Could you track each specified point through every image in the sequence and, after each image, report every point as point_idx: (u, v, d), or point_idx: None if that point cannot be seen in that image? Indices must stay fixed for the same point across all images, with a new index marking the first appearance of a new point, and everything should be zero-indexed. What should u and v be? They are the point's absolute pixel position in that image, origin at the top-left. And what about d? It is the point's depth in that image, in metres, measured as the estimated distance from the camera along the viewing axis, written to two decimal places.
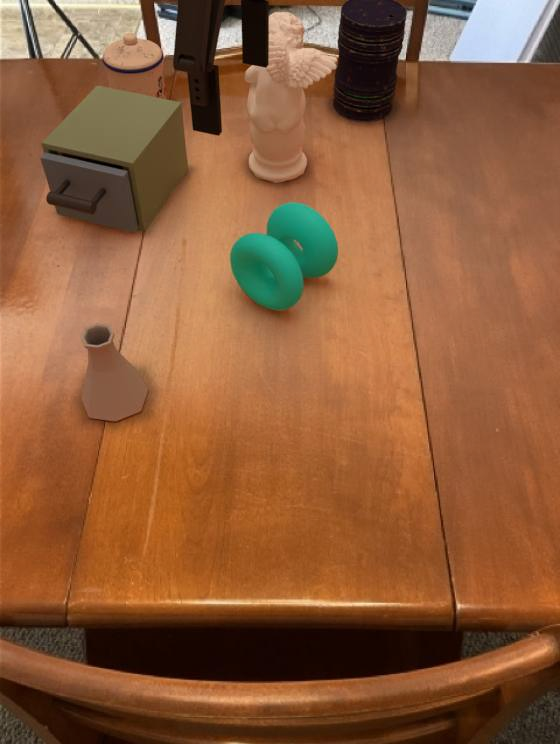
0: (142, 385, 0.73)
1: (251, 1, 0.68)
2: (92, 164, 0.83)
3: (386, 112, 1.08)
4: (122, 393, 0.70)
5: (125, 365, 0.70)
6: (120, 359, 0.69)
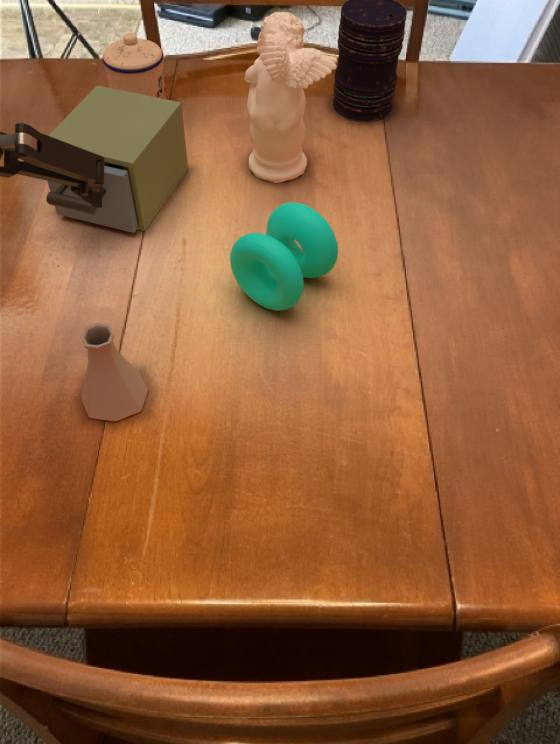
0: (142, 385, 0.73)
1: None
2: None
3: (386, 112, 1.08)
4: (122, 393, 0.70)
5: (125, 365, 0.70)
6: (120, 359, 0.69)
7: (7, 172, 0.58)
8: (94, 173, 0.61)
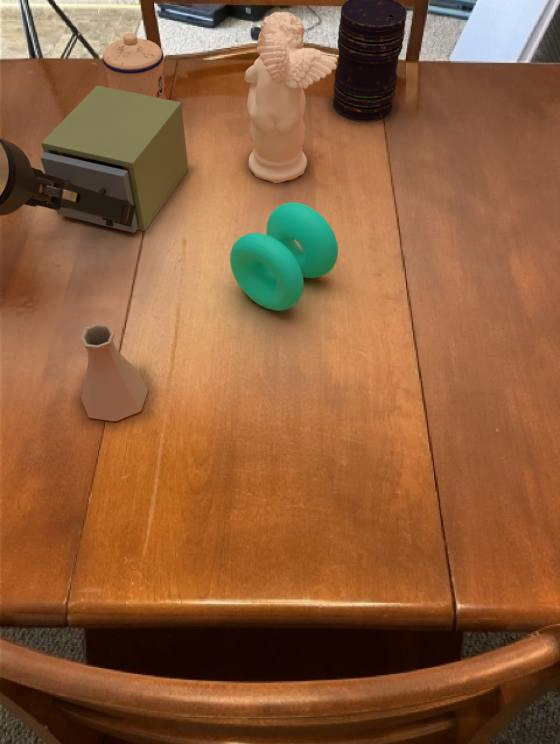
0: (142, 385, 0.73)
1: None
2: (92, 164, 0.83)
3: (386, 112, 1.08)
4: (122, 393, 0.70)
5: (125, 365, 0.70)
6: (120, 359, 0.69)
7: (52, 208, 0.74)
8: (119, 216, 0.77)
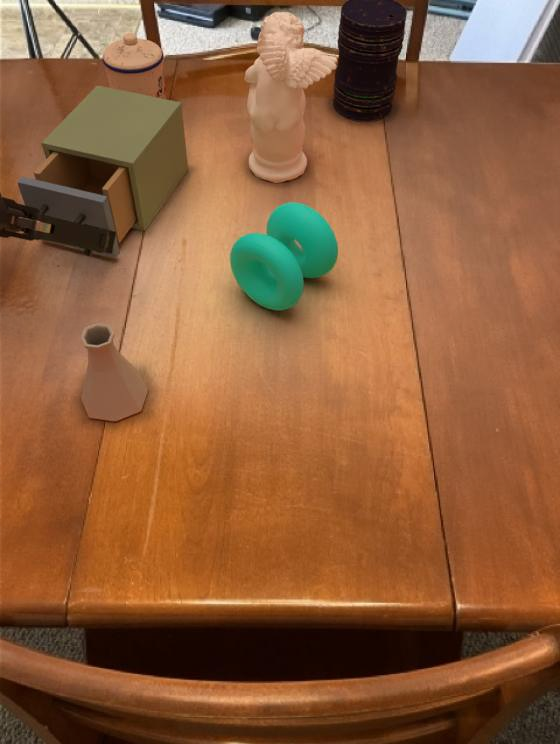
0: (142, 385, 0.73)
1: None
2: (71, 189, 0.80)
3: (386, 112, 1.08)
4: (122, 393, 0.70)
5: (125, 365, 0.70)
6: (120, 359, 0.69)
7: (25, 238, 0.70)
8: (97, 245, 0.74)
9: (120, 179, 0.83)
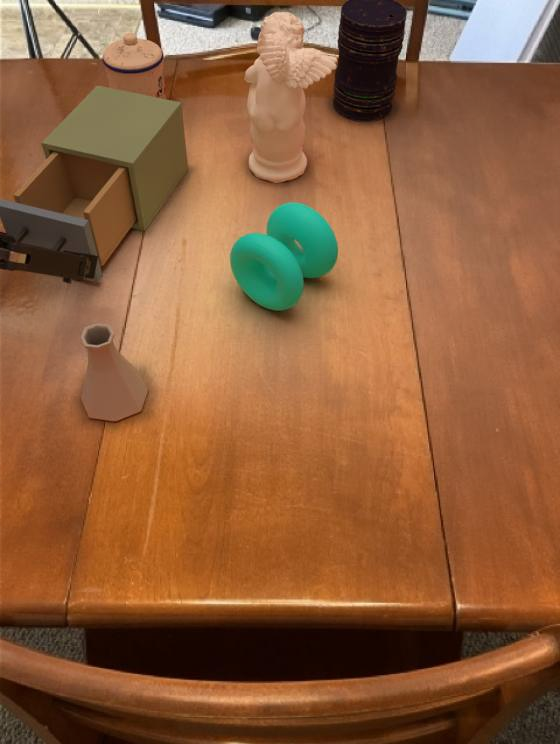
0: (142, 385, 0.73)
1: None
2: (51, 212, 0.78)
3: (386, 112, 1.08)
4: (122, 393, 0.70)
5: (125, 365, 0.70)
6: (120, 359, 0.69)
7: (1, 268, 0.68)
8: (76, 273, 0.71)
9: (103, 201, 0.80)
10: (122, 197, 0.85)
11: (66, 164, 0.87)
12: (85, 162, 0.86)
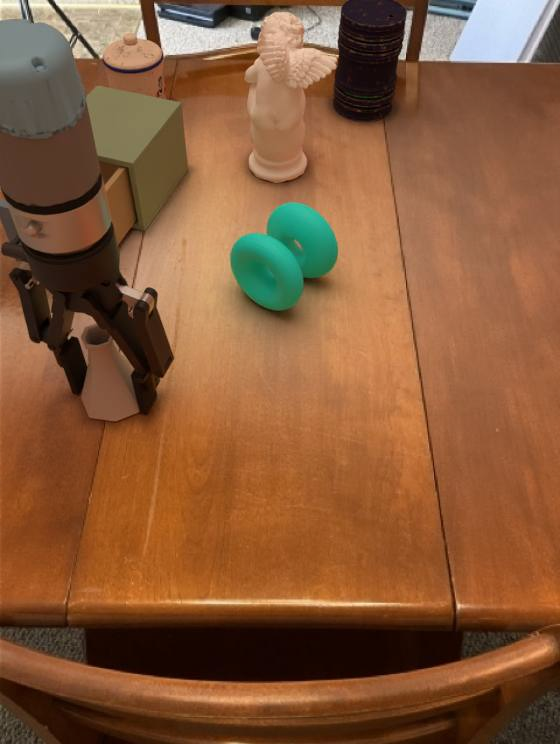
0: None
1: None
2: None
3: (386, 112, 1.08)
4: (122, 393, 0.70)
5: (125, 365, 0.70)
6: (120, 359, 0.69)
7: (108, 323, 0.61)
8: (163, 364, 0.65)
9: None
10: (122, 197, 0.85)
11: None
12: None
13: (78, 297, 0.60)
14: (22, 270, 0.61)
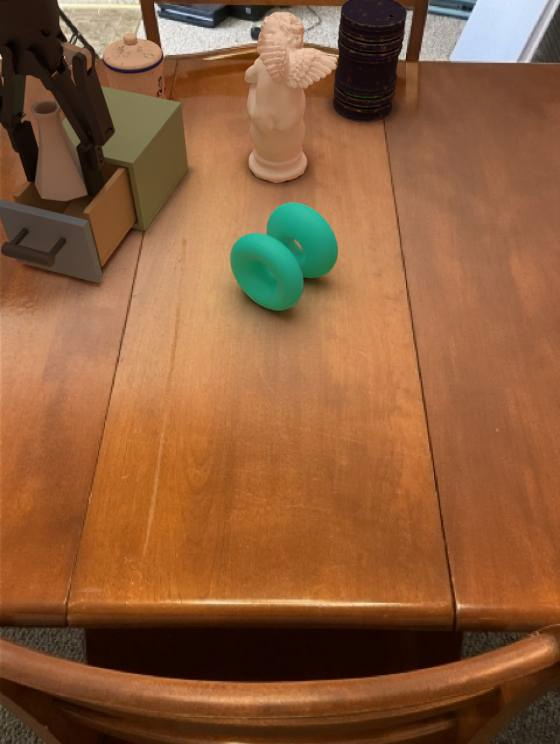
0: None
1: None
2: (50, 212, 0.78)
3: (386, 112, 1.08)
4: (70, 172, 0.78)
5: (73, 146, 0.77)
6: (68, 138, 0.77)
7: (51, 80, 0.68)
8: (104, 130, 0.72)
9: (103, 201, 0.80)
10: (122, 197, 0.85)
11: None
12: None
13: None
14: None
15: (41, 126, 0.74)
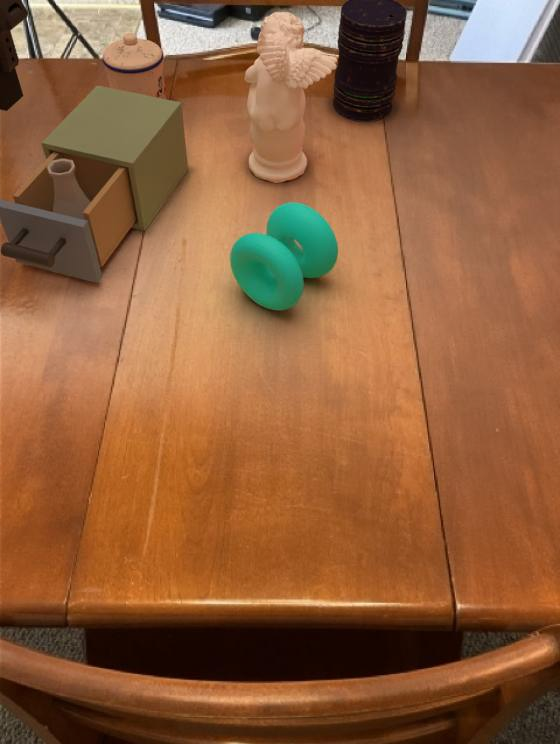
0: None
1: None
2: (50, 213, 0.78)
3: (386, 112, 1.08)
4: None
5: (85, 201, 0.83)
6: (81, 194, 0.82)
7: None
8: (5, 5, 0.53)
9: (102, 201, 0.80)
10: (122, 198, 0.85)
11: None
12: (85, 162, 0.86)
13: None
14: None
15: (56, 183, 0.80)
